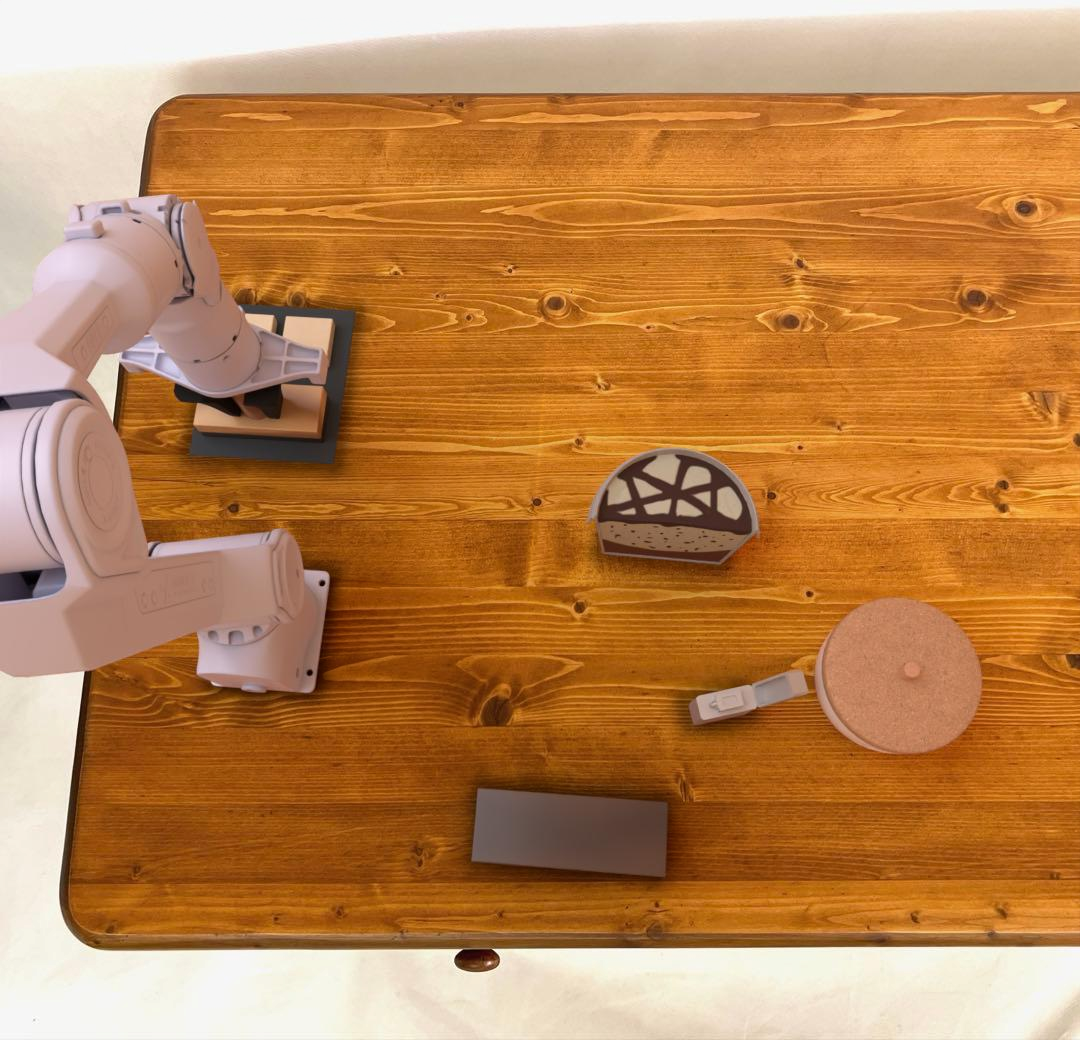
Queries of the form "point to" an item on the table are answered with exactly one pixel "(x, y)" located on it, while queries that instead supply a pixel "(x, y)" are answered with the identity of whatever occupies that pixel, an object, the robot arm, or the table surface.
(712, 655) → the table surface
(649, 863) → the dark grey rectangular block
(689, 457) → the brown half-round block
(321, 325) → the chip right
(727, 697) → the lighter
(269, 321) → the chip left
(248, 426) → the brown block with peg
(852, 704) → the trinket box
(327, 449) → the mat
